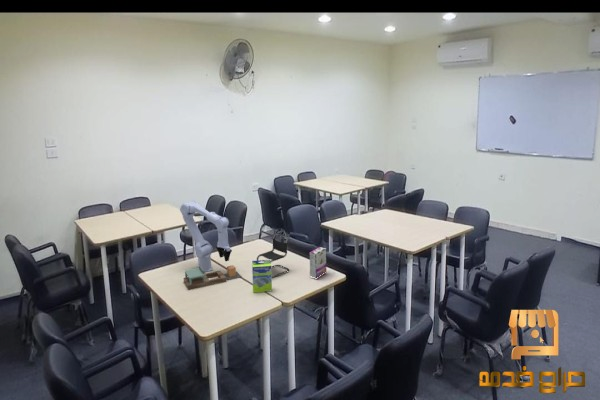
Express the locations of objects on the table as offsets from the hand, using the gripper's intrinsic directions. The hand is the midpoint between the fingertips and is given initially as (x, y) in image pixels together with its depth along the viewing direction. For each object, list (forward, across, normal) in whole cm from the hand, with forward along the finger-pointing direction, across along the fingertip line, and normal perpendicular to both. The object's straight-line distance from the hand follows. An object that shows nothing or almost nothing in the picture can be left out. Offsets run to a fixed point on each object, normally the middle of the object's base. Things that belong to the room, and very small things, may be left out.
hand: (224, 258), depth 238 cm
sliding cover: (+7, +4, -20) cm, 21 cm away
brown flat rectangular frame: (+9, +4, -15) cm, 18 cm away
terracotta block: (+9, +6, +2) cm, 11 cm away
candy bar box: (+10, +36, +44) cm, 58 cm away
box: (+10, +34, +7) cm, 36 cm away
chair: (+10, +16, +25) cm, 32 cm away
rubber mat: (+9, +6, +2) cm, 11 cm away
